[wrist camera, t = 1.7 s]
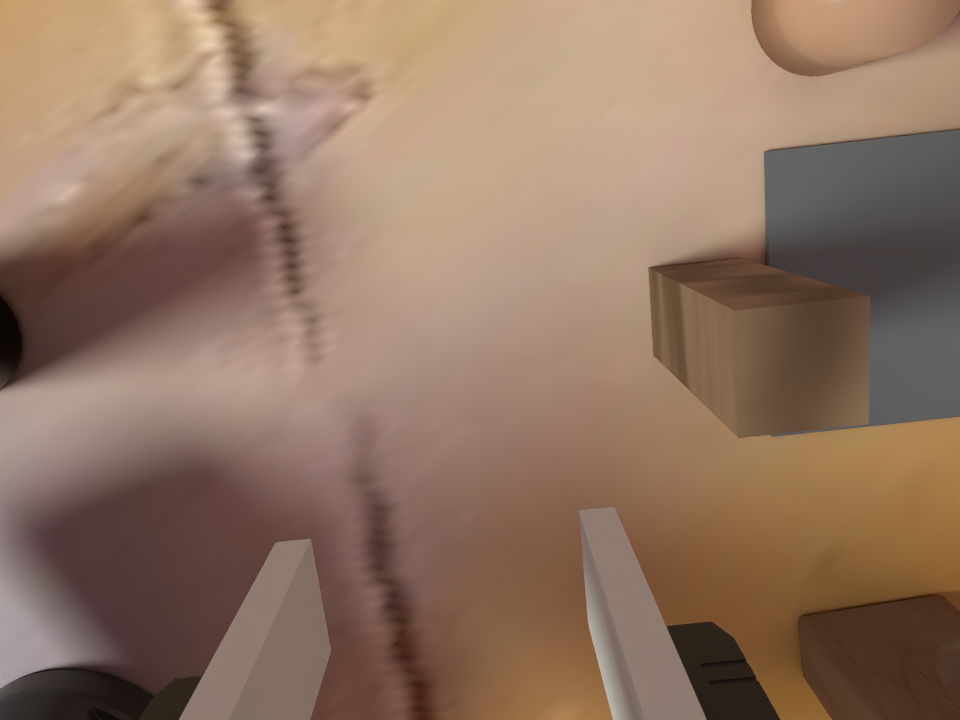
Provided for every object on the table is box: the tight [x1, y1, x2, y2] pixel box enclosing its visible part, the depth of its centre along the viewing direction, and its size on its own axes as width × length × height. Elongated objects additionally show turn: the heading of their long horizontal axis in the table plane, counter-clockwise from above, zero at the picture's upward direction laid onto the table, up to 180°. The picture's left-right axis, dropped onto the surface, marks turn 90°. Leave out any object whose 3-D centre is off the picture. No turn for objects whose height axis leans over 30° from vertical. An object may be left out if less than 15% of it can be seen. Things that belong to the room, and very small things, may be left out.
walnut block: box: [649, 258, 870, 438], centre depth 35 cm, size 5×5×14 cm
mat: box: [764, 130, 960, 436], centre depth 41 cm, size 16×16×1 cm
